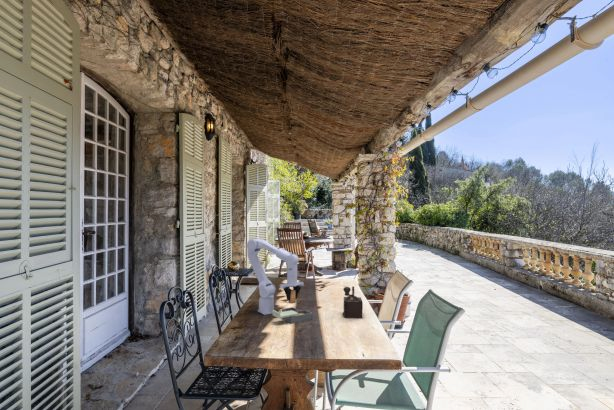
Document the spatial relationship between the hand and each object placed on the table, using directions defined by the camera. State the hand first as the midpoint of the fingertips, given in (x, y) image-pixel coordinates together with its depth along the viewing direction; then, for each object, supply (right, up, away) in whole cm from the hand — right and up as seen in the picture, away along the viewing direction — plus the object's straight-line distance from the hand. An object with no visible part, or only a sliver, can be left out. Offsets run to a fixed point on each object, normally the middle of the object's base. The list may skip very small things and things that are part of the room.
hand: (291, 299), depth 200 cm
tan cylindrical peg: (0, -2, 0) cm, 2 cm away
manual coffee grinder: (+34, -9, -2) cm, 35 cm away
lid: (-3, -5, -12) cm, 13 cm away
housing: (+2, -9, -4) cm, 10 cm away
